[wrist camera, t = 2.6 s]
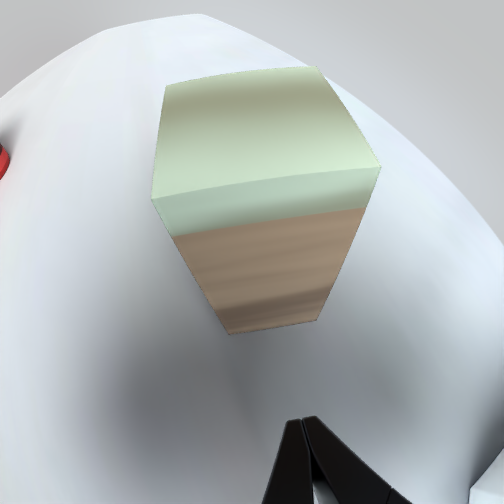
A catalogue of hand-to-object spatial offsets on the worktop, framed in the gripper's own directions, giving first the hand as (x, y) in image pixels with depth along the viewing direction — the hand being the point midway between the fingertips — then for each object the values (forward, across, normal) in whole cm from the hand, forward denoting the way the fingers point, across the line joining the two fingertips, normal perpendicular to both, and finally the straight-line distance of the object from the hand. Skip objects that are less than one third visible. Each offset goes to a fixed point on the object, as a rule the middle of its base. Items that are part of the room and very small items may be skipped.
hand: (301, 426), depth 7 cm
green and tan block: (+11, 0, 0) cm, 11 cm away
